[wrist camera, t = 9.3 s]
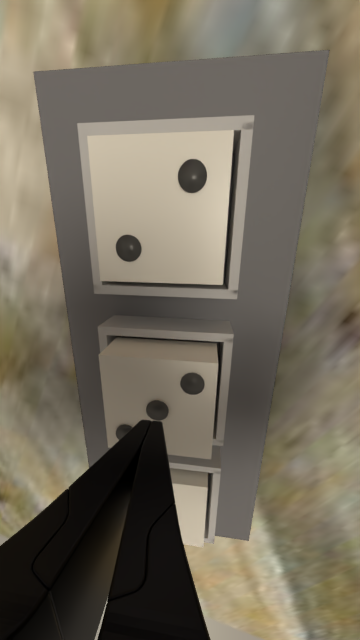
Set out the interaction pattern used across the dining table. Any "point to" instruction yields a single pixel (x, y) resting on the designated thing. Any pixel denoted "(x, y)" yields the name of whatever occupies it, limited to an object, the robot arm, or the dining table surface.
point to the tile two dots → (161, 205)
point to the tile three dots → (161, 391)
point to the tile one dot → (190, 504)
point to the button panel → (240, 252)
